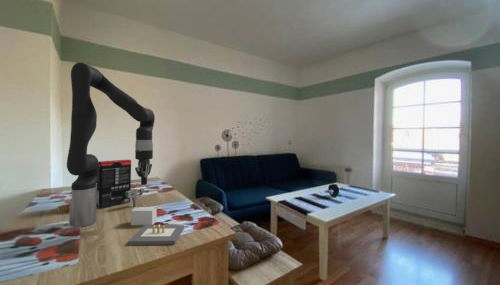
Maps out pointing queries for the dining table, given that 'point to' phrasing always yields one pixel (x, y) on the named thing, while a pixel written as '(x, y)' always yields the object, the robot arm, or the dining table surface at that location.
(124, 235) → the dining table surface
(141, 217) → the plug housing
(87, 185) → the robot arm
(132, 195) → the mechanical component
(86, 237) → the dining table surface
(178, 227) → the header board
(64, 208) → the sunglasses
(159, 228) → the brass pins
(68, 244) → the dining table surface
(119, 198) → the graphics card box
